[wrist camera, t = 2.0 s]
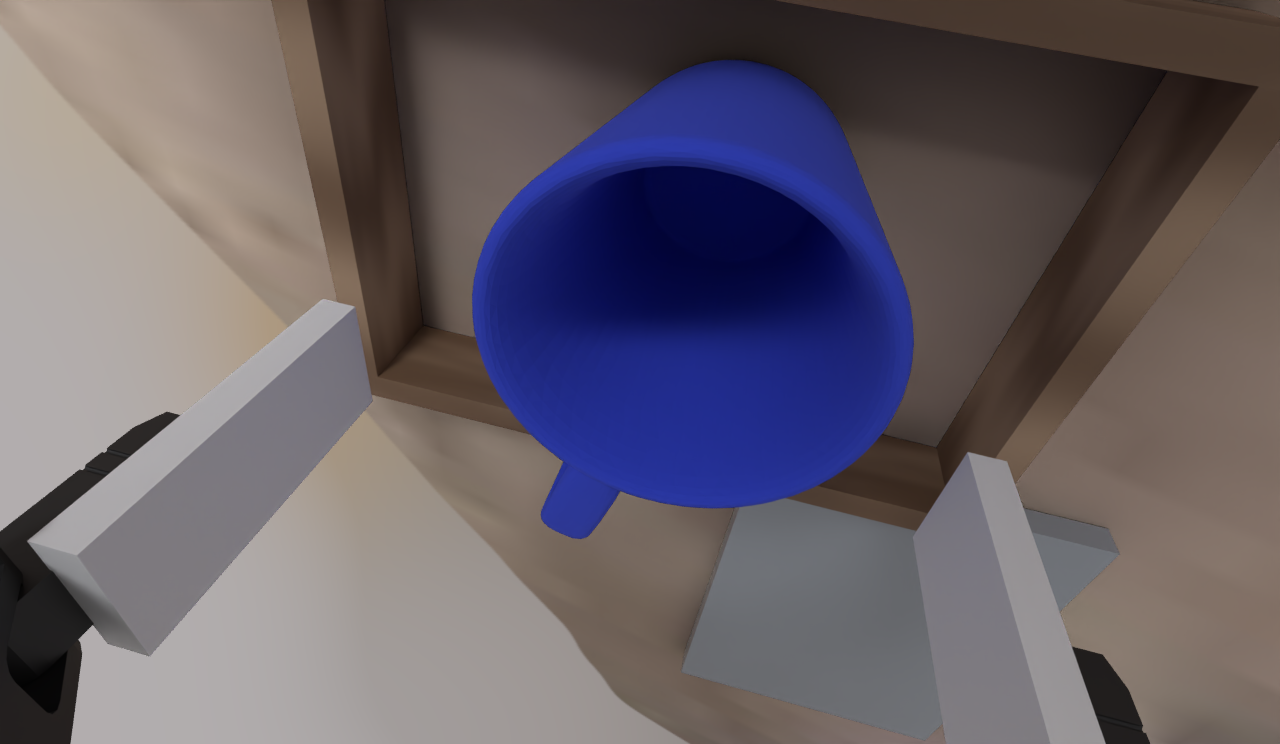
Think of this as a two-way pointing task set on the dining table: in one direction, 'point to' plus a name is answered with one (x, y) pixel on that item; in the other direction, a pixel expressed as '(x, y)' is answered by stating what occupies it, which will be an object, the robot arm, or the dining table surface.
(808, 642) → the board
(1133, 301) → the crate
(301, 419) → the robot arm
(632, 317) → the mug
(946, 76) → the dining table surface
